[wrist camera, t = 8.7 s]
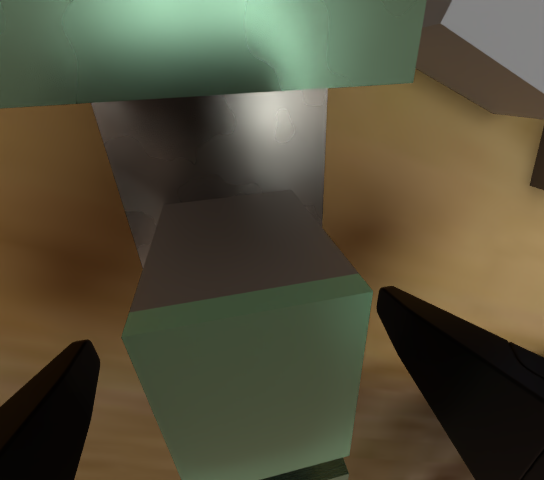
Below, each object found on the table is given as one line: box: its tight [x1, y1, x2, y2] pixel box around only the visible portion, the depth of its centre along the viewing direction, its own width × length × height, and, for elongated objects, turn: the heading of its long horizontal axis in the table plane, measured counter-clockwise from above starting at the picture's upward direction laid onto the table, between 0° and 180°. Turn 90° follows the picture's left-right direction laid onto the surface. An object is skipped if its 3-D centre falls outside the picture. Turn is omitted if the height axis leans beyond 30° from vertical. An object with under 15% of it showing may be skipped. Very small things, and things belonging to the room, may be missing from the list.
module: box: [121, 190, 373, 480], centre depth 9 cm, size 6×4×6 cm
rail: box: [0, 0, 427, 480], centre depth 11 cm, size 23×7×7 cm, turn 3°
